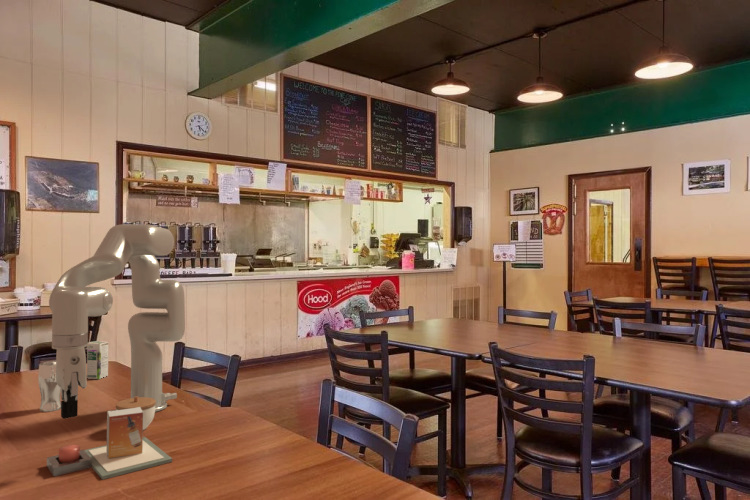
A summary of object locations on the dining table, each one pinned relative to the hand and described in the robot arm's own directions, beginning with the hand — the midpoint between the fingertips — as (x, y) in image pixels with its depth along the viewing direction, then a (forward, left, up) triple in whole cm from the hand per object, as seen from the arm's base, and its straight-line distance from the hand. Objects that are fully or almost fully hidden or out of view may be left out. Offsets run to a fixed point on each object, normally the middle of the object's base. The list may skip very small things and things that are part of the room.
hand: (69, 416), depth 129 cm
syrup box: (-29, -91, -12) cm, 96 cm away
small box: (-12, +2, -11) cm, 17 cm away
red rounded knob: (0, 0, -10) cm, 10 cm away
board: (-12, +3, -12) cm, 17 cm away
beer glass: (-6, -55, -12) cm, 57 cm away
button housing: (0, 0, -12) cm, 12 cm away
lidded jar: (-21, -18, -12) cm, 30 cm away
